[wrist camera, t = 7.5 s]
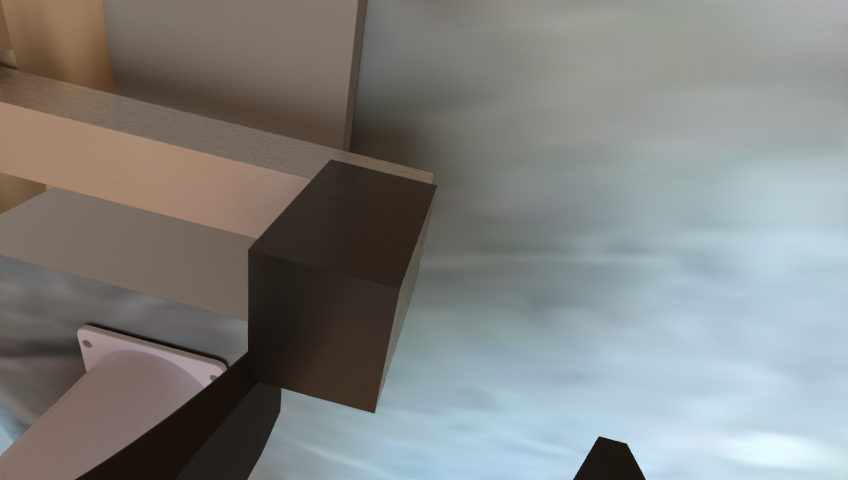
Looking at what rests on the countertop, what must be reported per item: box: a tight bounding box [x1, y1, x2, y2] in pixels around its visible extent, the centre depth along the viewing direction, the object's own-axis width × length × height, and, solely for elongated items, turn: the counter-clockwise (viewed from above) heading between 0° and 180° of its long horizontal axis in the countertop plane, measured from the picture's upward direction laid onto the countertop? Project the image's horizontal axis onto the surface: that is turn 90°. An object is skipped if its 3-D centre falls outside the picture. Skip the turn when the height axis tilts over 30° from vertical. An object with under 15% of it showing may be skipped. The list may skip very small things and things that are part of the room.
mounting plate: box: [0, 0, 367, 321], centre depth 18 cm, size 20×18×1 cm
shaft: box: [0, 66, 437, 413], centre depth 11 cm, size 3×15×6 cm, turn 79°
